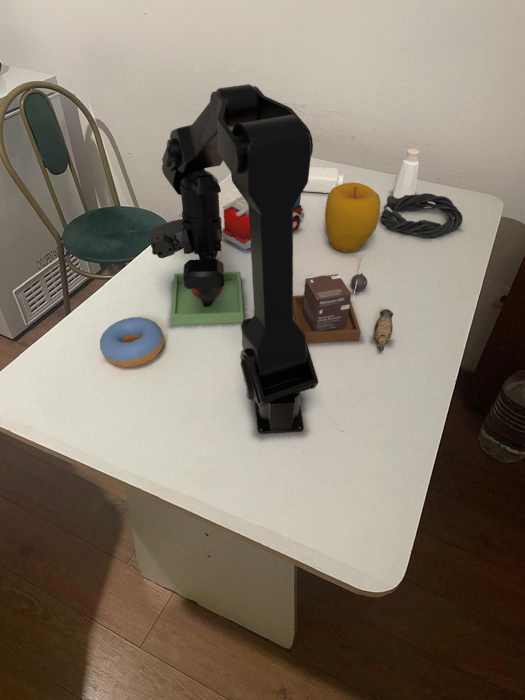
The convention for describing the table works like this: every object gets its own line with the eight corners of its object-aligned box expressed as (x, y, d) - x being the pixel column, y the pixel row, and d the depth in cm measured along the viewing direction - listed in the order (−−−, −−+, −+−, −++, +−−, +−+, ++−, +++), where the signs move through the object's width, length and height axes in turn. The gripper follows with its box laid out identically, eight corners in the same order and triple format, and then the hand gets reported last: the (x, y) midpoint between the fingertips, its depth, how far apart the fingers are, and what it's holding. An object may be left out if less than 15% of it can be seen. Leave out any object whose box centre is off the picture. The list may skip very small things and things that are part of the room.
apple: (383, 254, 105) (395, 195, 96) (336, 264, 102) (344, 205, 93) (357, 228, 112) (366, 171, 103) (312, 237, 109) (317, 179, 100)
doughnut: (98, 339, 85) (92, 318, 82) (158, 325, 88) (154, 304, 85) (107, 380, 79) (101, 359, 75) (171, 364, 81) (168, 343, 78)
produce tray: (243, 322, 89) (243, 312, 87) (172, 325, 88) (171, 315, 87) (240, 280, 98) (239, 271, 96) (175, 282, 97) (174, 273, 95)
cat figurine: (392, 323, 89) (396, 308, 85) (386, 360, 84) (390, 346, 81) (375, 320, 89) (379, 305, 86) (369, 357, 85) (373, 343, 81)
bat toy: (343, 312, 91) (347, 291, 88) (355, 265, 102) (359, 245, 98) (360, 315, 91) (364, 294, 87) (370, 268, 101) (374, 247, 98)
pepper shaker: (418, 194, 124) (429, 148, 116) (410, 203, 121) (420, 157, 113) (397, 188, 126) (406, 143, 119) (388, 197, 123) (397, 151, 115)
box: (313, 334, 86) (316, 299, 81) (301, 312, 90) (304, 278, 85) (346, 328, 87) (352, 294, 82) (333, 306, 91) (338, 272, 86)
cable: (462, 215, 117) (467, 198, 114) (456, 247, 107) (462, 228, 104) (386, 202, 121) (390, 184, 118) (375, 231, 111) (378, 213, 108)
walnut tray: (359, 340, 86) (360, 331, 84) (298, 343, 85) (299, 334, 84) (346, 302, 93) (348, 293, 92) (291, 305, 93) (291, 295, 91)
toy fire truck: (307, 224, 113) (311, 181, 106) (247, 258, 103) (247, 213, 96) (277, 210, 117) (279, 167, 110) (217, 241, 107) (214, 197, 101)
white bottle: (341, 196, 123) (344, 179, 120) (288, 191, 124) (289, 175, 121) (342, 184, 127) (345, 167, 124) (291, 180, 129) (292, 163, 126)
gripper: (153, 183, 86) (164, 261, 97) (143, 243, 73) (157, 326, 84) (219, 182, 87) (223, 259, 98) (222, 241, 74) (226, 323, 85)
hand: (207, 290), depth 91 cm, fingers open, 9 cm apart
